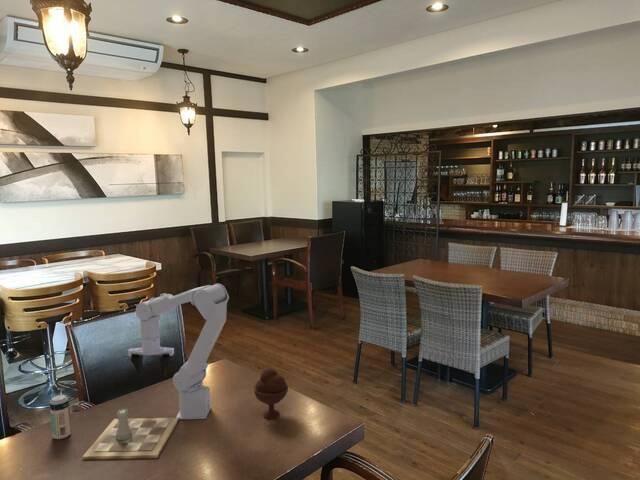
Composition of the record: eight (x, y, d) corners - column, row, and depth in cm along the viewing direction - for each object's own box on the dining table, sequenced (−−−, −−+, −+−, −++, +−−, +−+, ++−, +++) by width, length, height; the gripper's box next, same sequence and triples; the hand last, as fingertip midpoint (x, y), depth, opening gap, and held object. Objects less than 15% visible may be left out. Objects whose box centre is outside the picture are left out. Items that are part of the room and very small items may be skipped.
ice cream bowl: (247, 420, 142) (246, 374, 140) (265, 404, 152) (264, 361, 150) (278, 426, 138) (277, 379, 136) (293, 410, 148) (293, 366, 146)
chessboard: (178, 420, 142) (178, 417, 142) (157, 457, 123) (157, 454, 122) (114, 421, 142) (114, 418, 142) (82, 459, 122) (82, 455, 122)
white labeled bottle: (74, 432, 136) (71, 393, 135) (64, 440, 131) (61, 401, 130) (59, 431, 136) (56, 393, 135) (48, 440, 132) (45, 400, 130)
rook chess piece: (134, 432, 134) (132, 406, 133) (129, 440, 129) (128, 413, 128) (118, 433, 133) (116, 407, 132) (113, 441, 129) (111, 414, 128)
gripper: (176, 332, 153) (177, 370, 155) (133, 332, 153) (135, 371, 155) (169, 339, 146) (171, 379, 148) (124, 339, 146) (126, 379, 148)
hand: (152, 375), depth 151 cm, fingers open, 7 cm apart
